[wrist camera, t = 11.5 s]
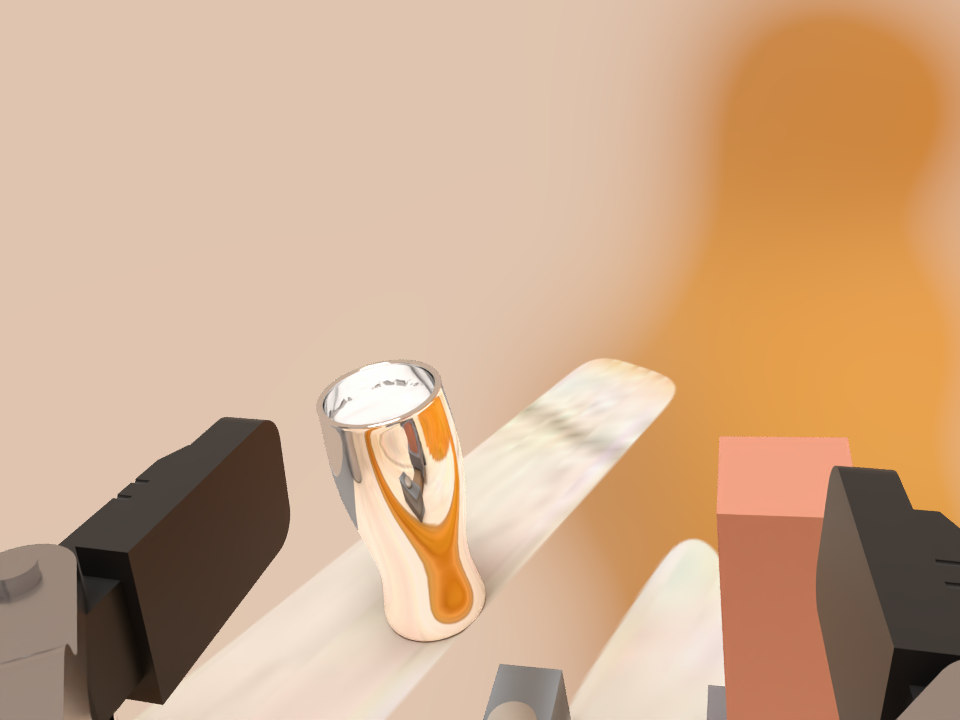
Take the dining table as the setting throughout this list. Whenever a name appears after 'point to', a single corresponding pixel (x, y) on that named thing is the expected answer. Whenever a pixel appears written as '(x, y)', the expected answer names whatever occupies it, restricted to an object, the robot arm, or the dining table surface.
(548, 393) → the dining table surface
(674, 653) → the dining table surface
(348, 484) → the beer glass
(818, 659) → the tall salmon pink pillar
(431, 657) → the dining table surface
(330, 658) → the dining table surface
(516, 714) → the rail
